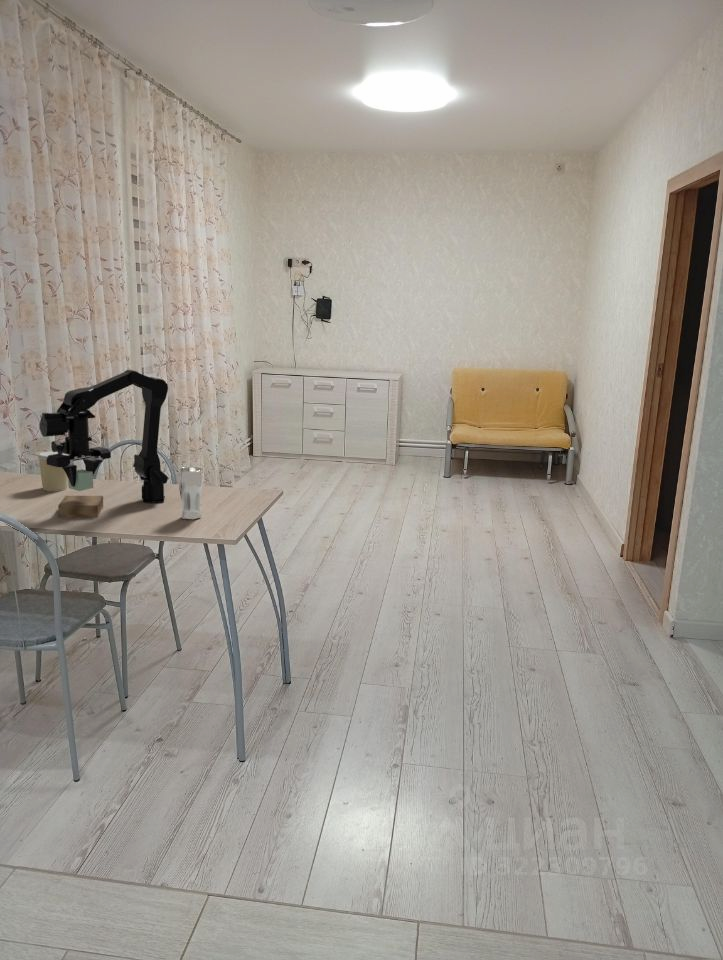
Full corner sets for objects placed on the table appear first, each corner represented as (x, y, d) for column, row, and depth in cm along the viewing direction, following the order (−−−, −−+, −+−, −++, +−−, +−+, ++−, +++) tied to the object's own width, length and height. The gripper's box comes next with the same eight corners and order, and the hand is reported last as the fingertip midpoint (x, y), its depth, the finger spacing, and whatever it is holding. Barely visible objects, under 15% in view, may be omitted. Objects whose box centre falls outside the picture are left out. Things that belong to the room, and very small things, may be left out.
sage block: (82, 485, 230) (82, 469, 229) (93, 487, 227) (92, 471, 226) (68, 488, 226) (67, 471, 225) (79, 491, 223) (78, 474, 222)
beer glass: (202, 520, 225) (202, 471, 222) (178, 520, 224) (177, 471, 220) (203, 514, 232) (203, 466, 228) (180, 514, 231) (179, 466, 227)
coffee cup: (73, 485, 258) (72, 451, 255) (64, 492, 248) (63, 457, 246) (46, 484, 257) (44, 450, 254) (35, 491, 248) (33, 456, 245)
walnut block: (103, 508, 235) (103, 495, 234) (97, 518, 224) (97, 505, 223) (66, 508, 233) (65, 495, 232) (58, 518, 222) (58, 505, 221)
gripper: (87, 426, 234) (89, 475, 238) (33, 434, 219) (36, 485, 223) (111, 431, 229) (113, 480, 232) (57, 439, 213) (60, 492, 217)
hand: (80, 484), depth 226 cm, fingers closed on sage block, 5 cm apart
